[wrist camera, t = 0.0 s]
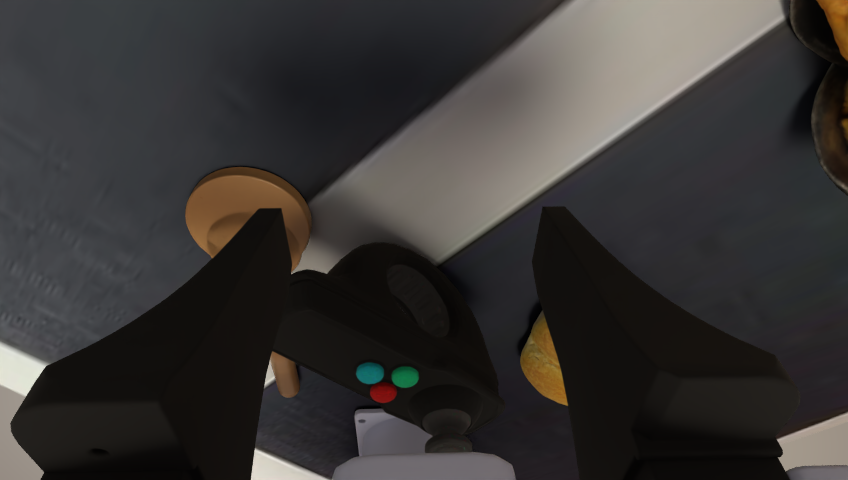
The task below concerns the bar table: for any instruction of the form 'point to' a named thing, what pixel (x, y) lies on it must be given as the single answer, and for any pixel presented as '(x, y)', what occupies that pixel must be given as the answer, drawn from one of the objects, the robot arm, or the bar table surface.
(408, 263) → the controller
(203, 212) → the spoon
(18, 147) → the bar table surface
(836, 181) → the fried shrimp in bowl
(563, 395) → the bread roll
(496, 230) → the bar table surface
